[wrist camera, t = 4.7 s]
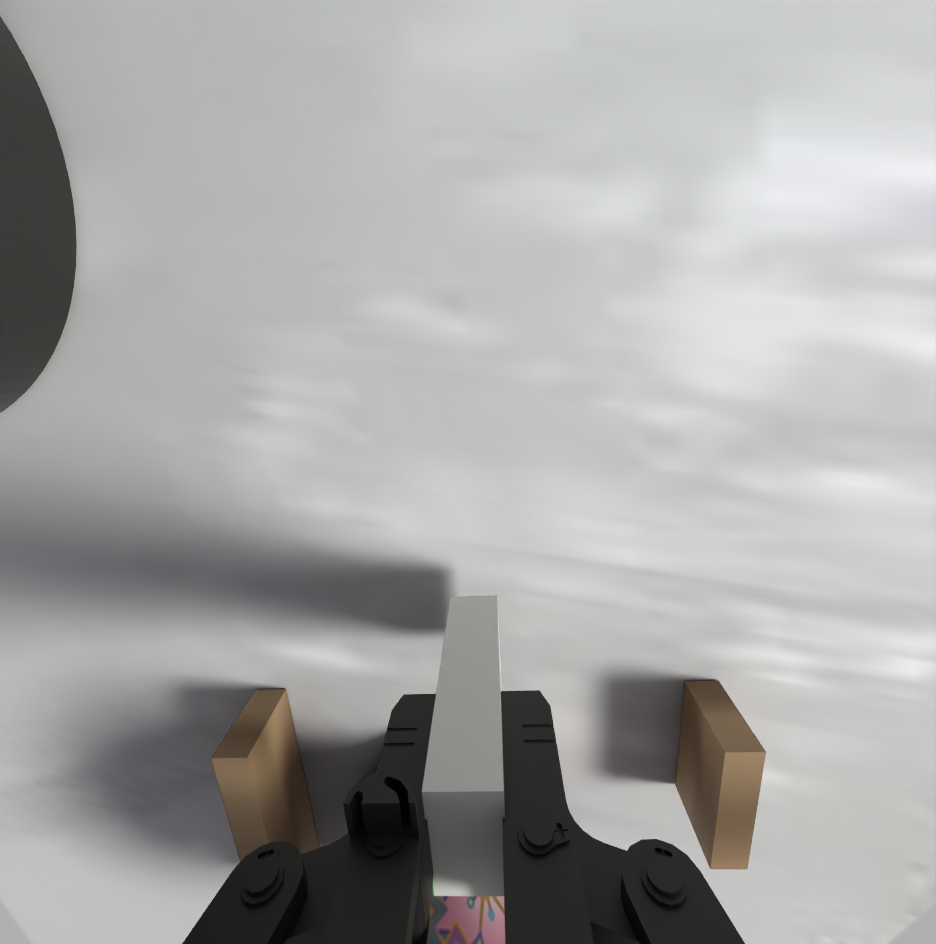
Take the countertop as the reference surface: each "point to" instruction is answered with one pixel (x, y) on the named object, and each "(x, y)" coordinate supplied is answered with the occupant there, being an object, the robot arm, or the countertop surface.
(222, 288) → the countertop surface
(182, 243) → the countertop surface
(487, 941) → the mug
